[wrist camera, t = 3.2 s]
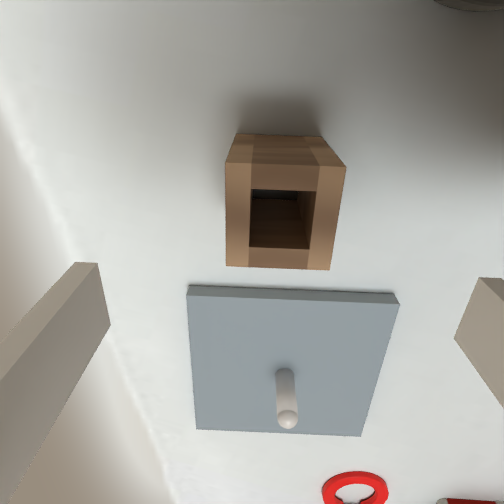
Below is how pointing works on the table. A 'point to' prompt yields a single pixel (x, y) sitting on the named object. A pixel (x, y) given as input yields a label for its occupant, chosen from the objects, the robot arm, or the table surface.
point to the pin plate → (286, 358)
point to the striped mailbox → (466, 501)
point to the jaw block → (282, 202)
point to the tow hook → (355, 478)
